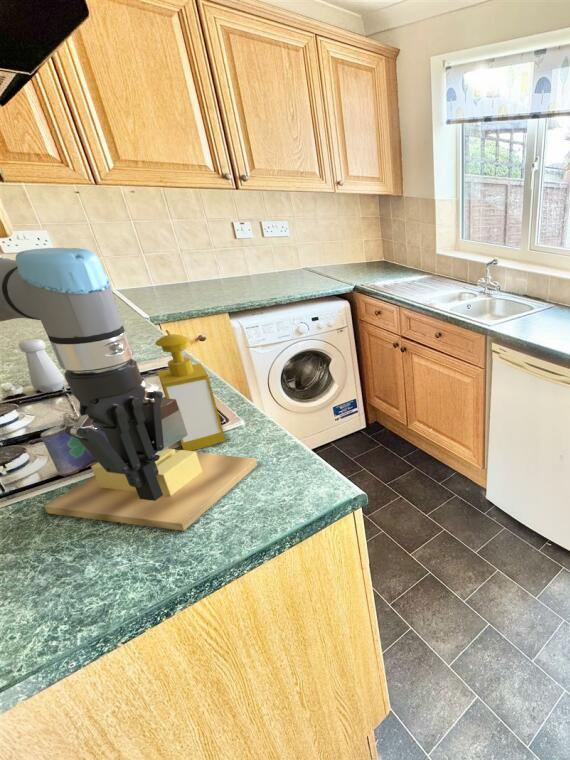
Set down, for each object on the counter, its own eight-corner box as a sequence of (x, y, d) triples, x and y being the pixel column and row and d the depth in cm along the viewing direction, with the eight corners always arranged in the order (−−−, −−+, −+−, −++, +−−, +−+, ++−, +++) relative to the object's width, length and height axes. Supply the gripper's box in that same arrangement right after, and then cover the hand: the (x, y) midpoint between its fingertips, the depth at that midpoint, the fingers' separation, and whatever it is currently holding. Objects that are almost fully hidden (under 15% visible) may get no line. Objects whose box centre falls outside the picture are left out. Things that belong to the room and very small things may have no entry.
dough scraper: (118, 473, 67) (100, 429, 64) (180, 434, 78) (167, 395, 75) (133, 474, 67) (115, 431, 64) (192, 435, 78) (180, 396, 74)
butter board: (47, 513, 69) (43, 506, 68) (145, 452, 85) (143, 445, 84) (184, 531, 67) (181, 523, 66) (257, 465, 83) (256, 458, 83)
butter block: (100, 487, 73) (90, 466, 71) (137, 463, 79) (129, 443, 77) (148, 493, 72) (139, 472, 70) (181, 469, 78) (174, 449, 76)
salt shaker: (69, 382, 110) (49, 335, 104) (67, 390, 106) (46, 342, 100) (37, 387, 106) (14, 339, 101) (33, 396, 102) (10, 346, 97)
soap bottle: (212, 417, 98) (185, 320, 88) (225, 441, 90) (197, 336, 80) (174, 427, 94) (141, 326, 84) (184, 452, 85) (149, 343, 75)
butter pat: (154, 494, 72) (146, 472, 70) (187, 469, 78) (180, 449, 76) (170, 496, 72) (163, 474, 70) (202, 471, 78) (196, 451, 76)
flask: (65, 478, 76) (41, 427, 72) (54, 474, 77) (29, 424, 73) (120, 451, 85) (102, 404, 80) (110, 448, 85) (90, 402, 81)
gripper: (75, 386, 52) (136, 528, 62) (164, 350, 64) (203, 475, 74) (21, 380, 53) (90, 522, 63) (120, 346, 65) (164, 470, 75)
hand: (151, 496), depth 69 cm, fingers closed
